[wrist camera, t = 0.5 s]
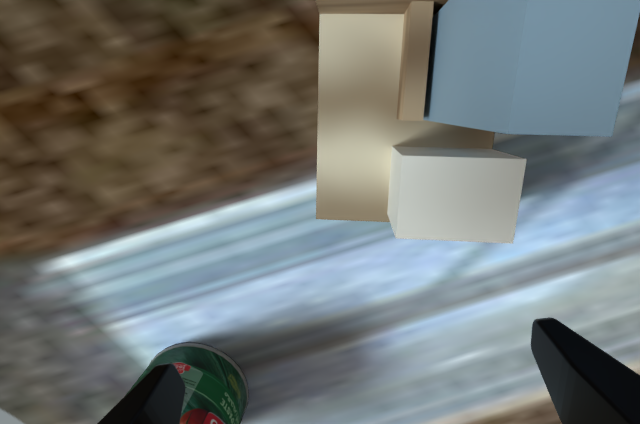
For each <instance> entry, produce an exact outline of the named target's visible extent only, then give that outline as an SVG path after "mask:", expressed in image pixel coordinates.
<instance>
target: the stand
mask: <svg viewBox="0 0 640 424" xmlns="http://www.w3.org/2000/svg"><path fill="white" fill-rule="evenodd" d="M315 1H316V4H317V7H318V10H319V13H320V28H319V84H318V140H317V197H316V219H328V220H353V221H377V222H390V220H389V217H388V215H387V210H388V196H389V182H390V167H391V153H392V146H405V147H441V148H478V149H492V148H493V140H494V133H495V132H492V131H486V130H480V129H474V128H468V127H462V126H456V125H450V124H445V123H439V122H433V121H427V120H423V117H424V106H425V94H426V83H427V72H428V61H429V50H430V39H431V28H432V18H433V17H434V16H435V14H436V13H437V12H438V11H439V10H440V9H441V8H442V7H443V6H444V5H445V4H446V3H447V1H448V0H315Z"/></svg>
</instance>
